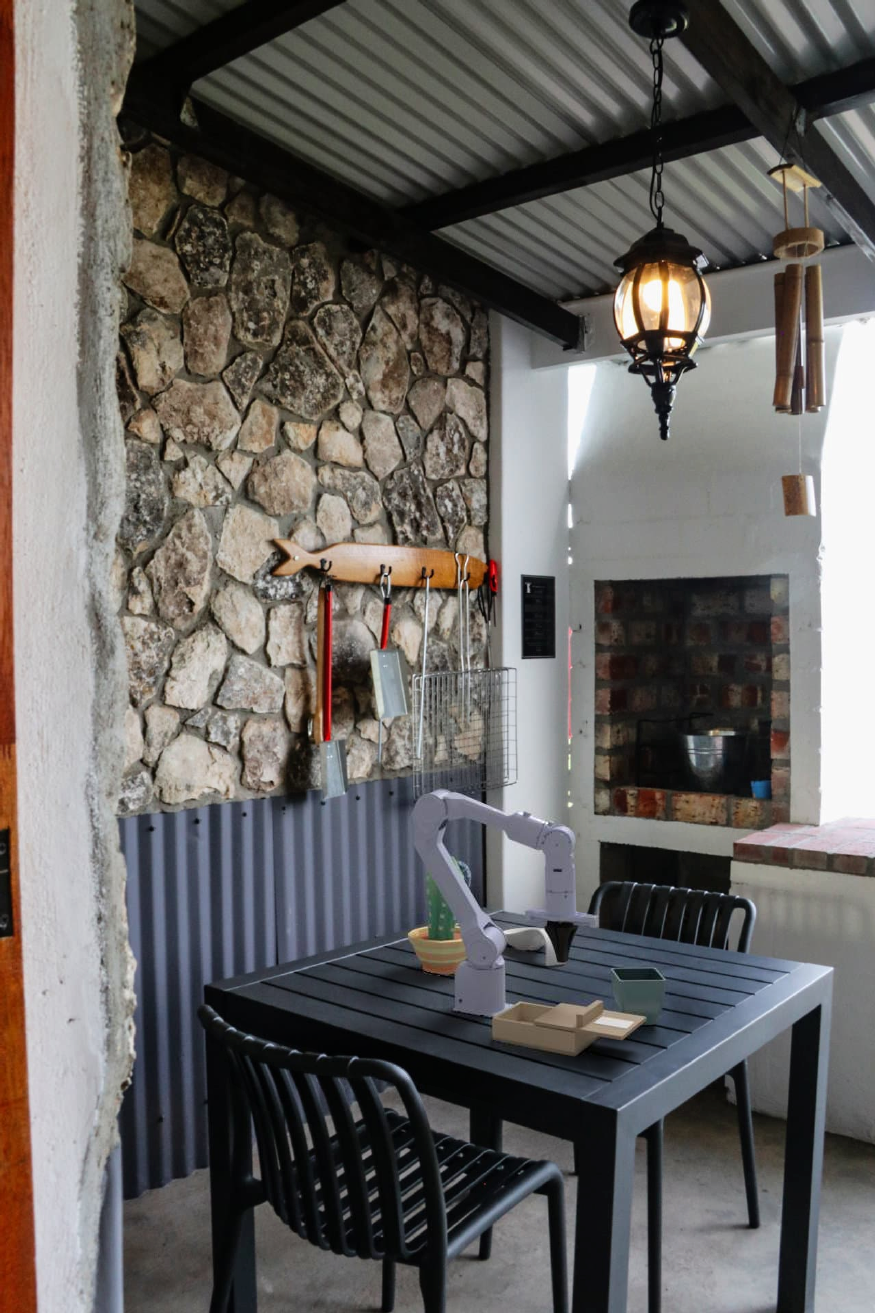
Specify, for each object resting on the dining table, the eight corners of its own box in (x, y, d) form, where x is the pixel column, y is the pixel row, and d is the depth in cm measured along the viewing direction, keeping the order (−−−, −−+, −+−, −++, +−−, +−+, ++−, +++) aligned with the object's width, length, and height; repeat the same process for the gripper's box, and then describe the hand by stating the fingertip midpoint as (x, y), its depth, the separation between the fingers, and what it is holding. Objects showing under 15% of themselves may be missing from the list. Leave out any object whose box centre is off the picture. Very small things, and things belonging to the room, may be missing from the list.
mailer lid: (533, 1024, 188) (533, 1009, 188) (561, 1006, 198) (561, 992, 198) (622, 1040, 180) (621, 1024, 180) (646, 1020, 190) (646, 1005, 190)
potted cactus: (478, 980, 231) (477, 862, 231) (406, 980, 231) (404, 863, 231) (477, 960, 246) (475, 850, 246) (409, 960, 246) (408, 850, 246)
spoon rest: (494, 944, 261) (494, 914, 261) (539, 939, 265) (538, 910, 265) (533, 969, 239) (532, 937, 239) (581, 964, 242) (581, 932, 242)
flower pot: (656, 1013, 207) (655, 966, 207) (667, 1029, 198) (666, 980, 198) (610, 1014, 207) (610, 967, 207) (620, 1030, 198) (619, 981, 198)
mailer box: (492, 1040, 193) (492, 1018, 193) (520, 1023, 202) (520, 1001, 202) (574, 1056, 185) (574, 1033, 185) (599, 1037, 194) (599, 1014, 194)
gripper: (517, 891, 207) (519, 962, 206) (587, 897, 199) (589, 971, 199) (533, 884, 213) (535, 953, 212) (602, 890, 205) (604, 962, 205)
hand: (562, 961), depth 206 cm, fingers closed
